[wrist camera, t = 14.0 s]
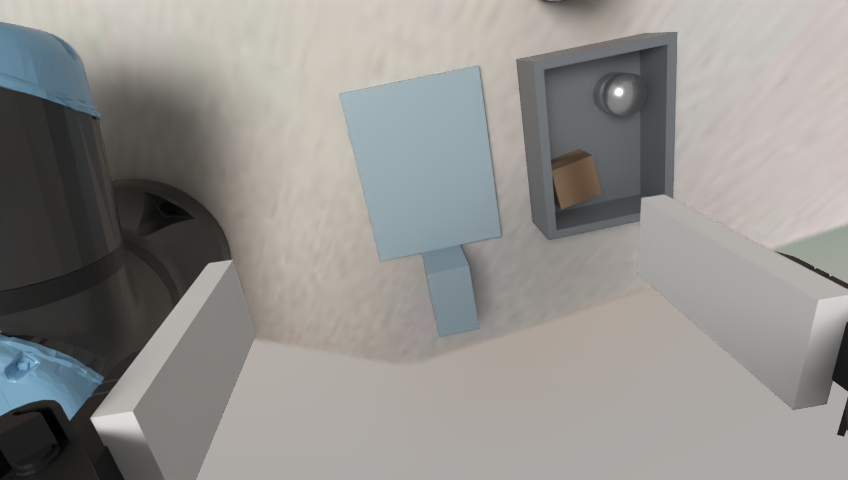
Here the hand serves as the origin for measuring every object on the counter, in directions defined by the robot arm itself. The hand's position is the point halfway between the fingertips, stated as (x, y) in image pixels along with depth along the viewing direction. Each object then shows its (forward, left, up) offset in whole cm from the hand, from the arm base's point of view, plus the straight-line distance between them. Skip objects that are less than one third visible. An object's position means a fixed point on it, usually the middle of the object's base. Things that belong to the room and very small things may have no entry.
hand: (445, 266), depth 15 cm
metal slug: (+20, -1, -31) cm, 37 cm away
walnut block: (+15, -8, -31) cm, 35 cm away
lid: (+2, -8, -31) cm, 32 cm away
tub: (+17, -5, -31) cm, 36 cm away
